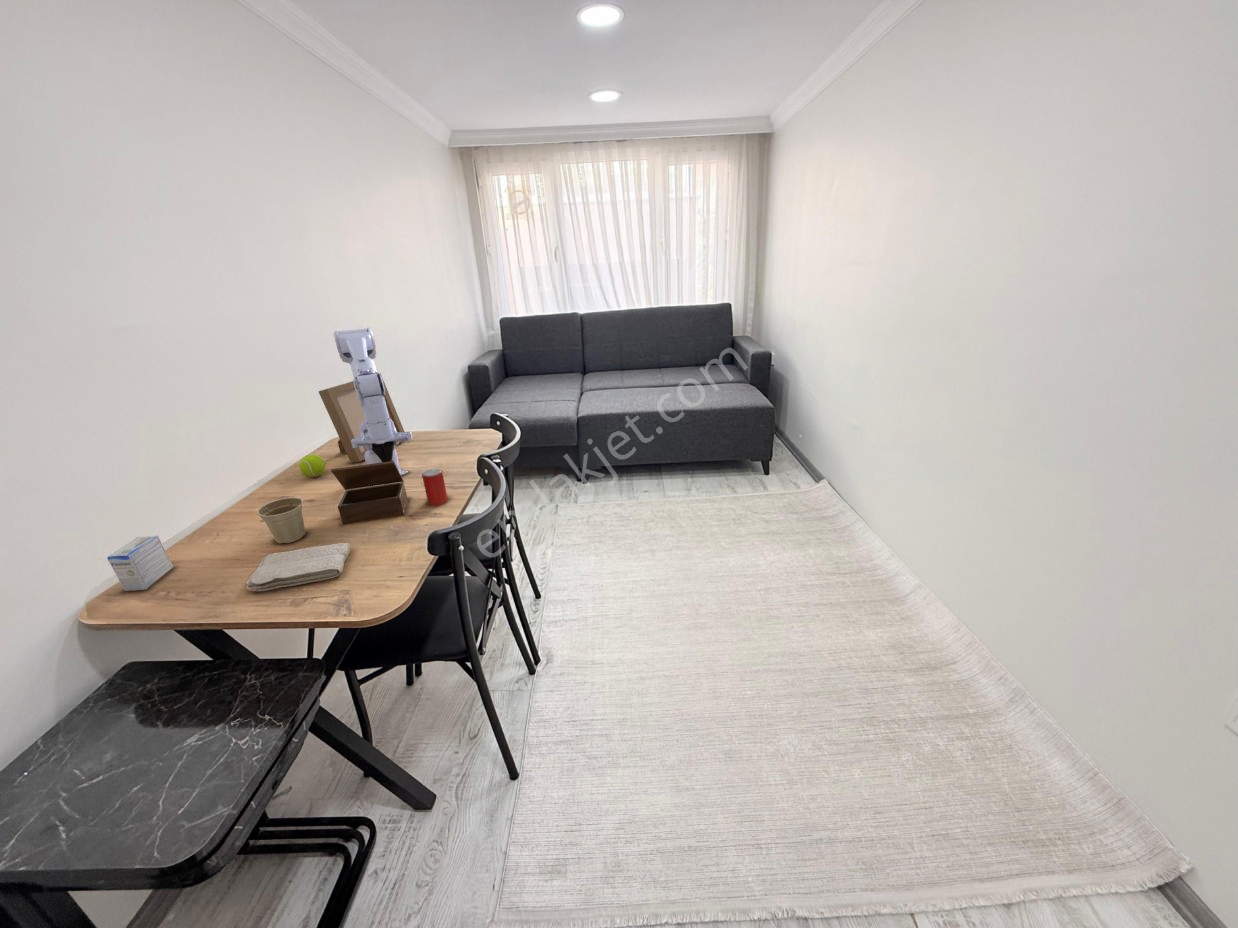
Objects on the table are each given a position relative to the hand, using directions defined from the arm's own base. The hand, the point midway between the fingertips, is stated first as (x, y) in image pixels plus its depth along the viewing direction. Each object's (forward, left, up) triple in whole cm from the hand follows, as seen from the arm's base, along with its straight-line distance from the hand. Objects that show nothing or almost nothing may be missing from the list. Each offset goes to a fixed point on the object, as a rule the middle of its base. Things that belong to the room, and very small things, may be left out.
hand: (389, 468), depth 133 cm
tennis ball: (-38, 0, -10) cm, 40 cm away
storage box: (+1, -7, -10) cm, 12 cm away
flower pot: (-7, -25, -10) cm, 28 cm away
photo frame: (-42, +22, -10) cm, 49 cm away
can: (+11, +4, -10) cm, 16 cm away
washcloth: (+10, -32, -10) cm, 35 cm away
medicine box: (-18, -49, -10) cm, 53 cm away
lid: (0, -6, 0) cm, 6 cm away
